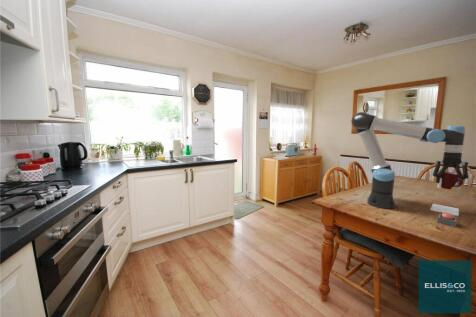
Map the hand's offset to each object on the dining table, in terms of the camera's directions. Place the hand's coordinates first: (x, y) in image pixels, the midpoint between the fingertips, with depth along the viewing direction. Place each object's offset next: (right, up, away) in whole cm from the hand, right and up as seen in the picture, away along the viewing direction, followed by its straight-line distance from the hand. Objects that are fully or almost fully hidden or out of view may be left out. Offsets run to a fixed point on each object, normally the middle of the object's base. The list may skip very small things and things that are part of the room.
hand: (448, 188), depth 124 cm
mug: (0, 0, 0) cm, 0 cm away
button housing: (-17, -16, -16) cm, 28 cm away
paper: (+1, -13, +3) cm, 14 cm away
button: (-17, -14, -16) cm, 27 cm away
